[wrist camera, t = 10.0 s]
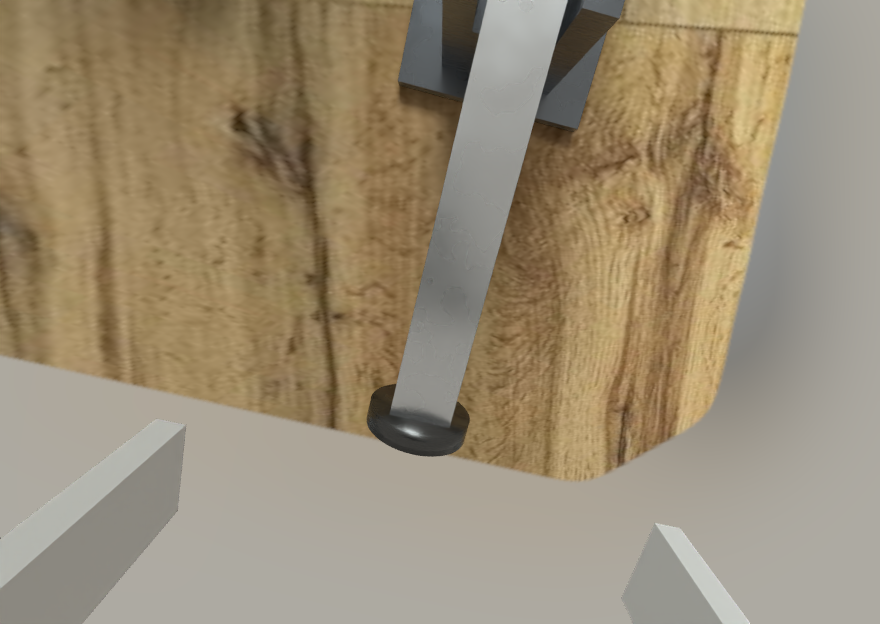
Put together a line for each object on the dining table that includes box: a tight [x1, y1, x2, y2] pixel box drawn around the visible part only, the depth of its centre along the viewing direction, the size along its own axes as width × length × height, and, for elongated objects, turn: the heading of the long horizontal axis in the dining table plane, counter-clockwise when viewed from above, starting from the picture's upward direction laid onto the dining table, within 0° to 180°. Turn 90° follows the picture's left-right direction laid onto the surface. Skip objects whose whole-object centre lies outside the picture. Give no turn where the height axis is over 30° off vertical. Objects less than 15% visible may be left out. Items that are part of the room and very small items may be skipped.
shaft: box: [367, 0, 568, 456], centre depth 20 cm, size 6×31×6 cm, turn 166°
